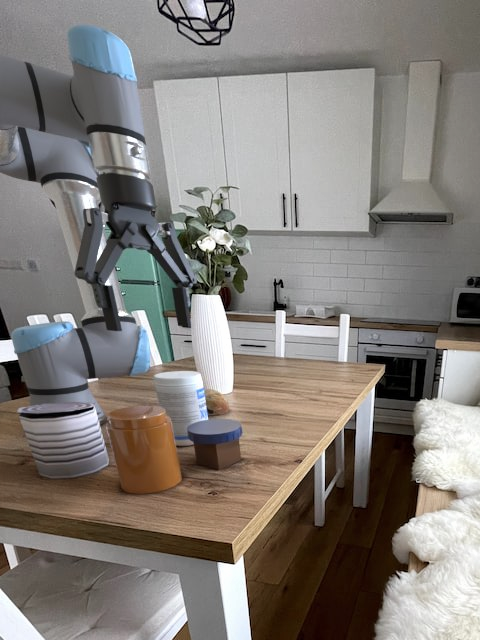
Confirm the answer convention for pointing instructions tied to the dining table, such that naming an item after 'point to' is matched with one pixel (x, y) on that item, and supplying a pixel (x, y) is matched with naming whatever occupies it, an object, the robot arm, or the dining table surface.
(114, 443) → the jar
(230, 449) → the cube
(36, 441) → the can
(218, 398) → the bread roll
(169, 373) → the supplement tub
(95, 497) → the dining table surface
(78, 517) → the dining table surface
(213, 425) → the lid
